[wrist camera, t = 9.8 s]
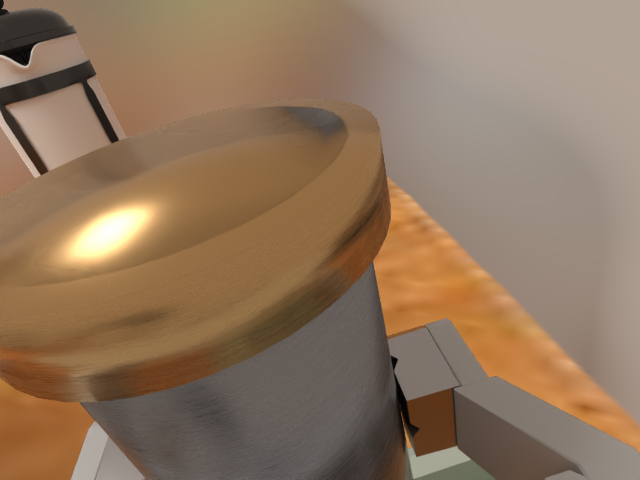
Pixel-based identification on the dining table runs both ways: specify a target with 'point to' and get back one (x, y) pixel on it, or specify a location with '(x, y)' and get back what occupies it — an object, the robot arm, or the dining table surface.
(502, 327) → the dining table surface
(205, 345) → the pin
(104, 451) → the robot arm
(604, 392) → the dining table surface
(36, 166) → the coffee press
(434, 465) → the green square tray
